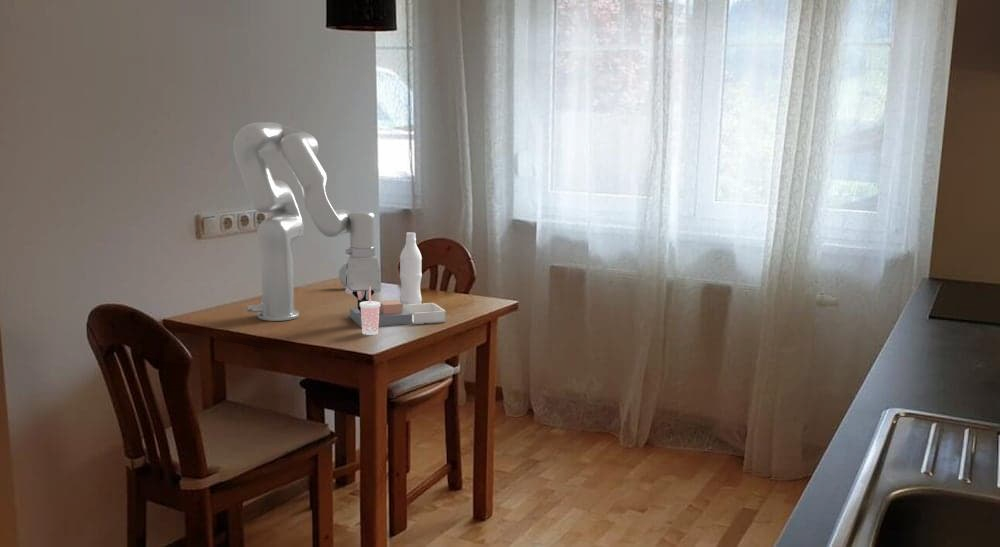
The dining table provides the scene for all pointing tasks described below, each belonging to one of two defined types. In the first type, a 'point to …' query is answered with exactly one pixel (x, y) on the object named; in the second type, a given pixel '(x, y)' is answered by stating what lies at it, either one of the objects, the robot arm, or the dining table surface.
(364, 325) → the beverage cup
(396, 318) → the slate board
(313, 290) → the dining table surface
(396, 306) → the terracotta tile
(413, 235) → the water bottle
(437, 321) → the tray
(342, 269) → the donut
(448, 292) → the dining table surface
